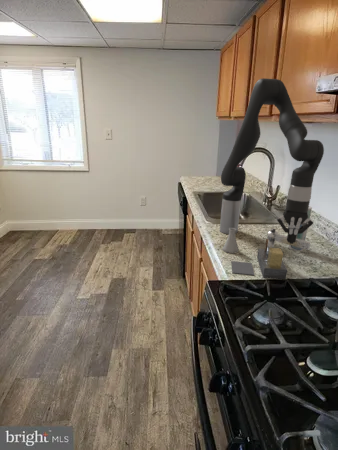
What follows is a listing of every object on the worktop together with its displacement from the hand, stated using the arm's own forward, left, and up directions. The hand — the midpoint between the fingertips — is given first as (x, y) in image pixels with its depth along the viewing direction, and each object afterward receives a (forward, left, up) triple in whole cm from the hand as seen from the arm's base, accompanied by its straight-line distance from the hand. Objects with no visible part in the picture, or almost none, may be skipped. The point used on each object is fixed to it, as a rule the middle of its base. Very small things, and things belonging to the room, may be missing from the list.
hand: (290, 242), depth 112 cm
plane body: (-1, -6, -12) cm, 13 cm away
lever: (-3, 0, -1) cm, 3 cm away
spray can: (-24, +9, -12) cm, 29 cm away
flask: (-15, -21, -12) cm, 28 cm away
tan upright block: (+4, -6, -8) cm, 10 cm away
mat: (+2, -17, -12) cm, 20 cm away
